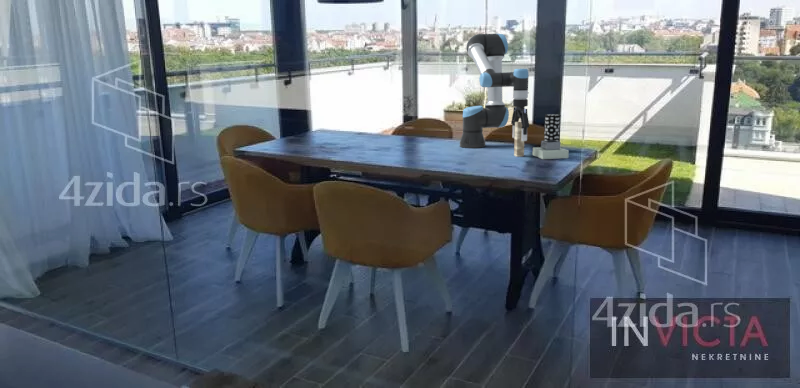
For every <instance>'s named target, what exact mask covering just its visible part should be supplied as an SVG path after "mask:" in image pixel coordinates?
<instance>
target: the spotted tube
mask: <svg viewBox="0 0 800 388" xmlns="http://www.w3.org/2000/svg"><path fill="white" fill-rule="evenodd" d="M561 117H562V115H561V114H557V113H555V114H554V113H548V114H545V115H544V133H543V134H544V138H543V141H547V140H555V141H558V142H560V143H561V141H560V139H561V137H560V136H561Z"/></svg>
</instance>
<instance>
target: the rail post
mask: <svg viewBox="0 0 800 388" xmlns="http://www.w3.org/2000/svg"><path fill="white" fill-rule="evenodd" d="M513 143H514V146H513V156H514V157H516V158H517V157H518V158H519V157H524V156H525V141H522V123H521V121H518V122H515V138H514V142H513Z"/></svg>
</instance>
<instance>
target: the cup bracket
mask: <svg viewBox="0 0 800 388" xmlns="http://www.w3.org/2000/svg"><path fill="white" fill-rule="evenodd" d="M540 147H541V148H542V149H544V150H560V148H561V141H560V142H558V141H555V140H547V141H544V140H541V141H540Z"/></svg>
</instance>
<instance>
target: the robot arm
mask: <svg viewBox="0 0 800 388" xmlns="http://www.w3.org/2000/svg"><path fill="white" fill-rule="evenodd" d="M465 49H466V53H467V55H468V57H469V58H471V59H472V61H473V63H474V65H475V67H476V68H477V70H478V72H479V74H480V75H479V84H480V86H481V88H487V89H486V90H487V101H486V103H485V104H484V106H485V107H483V105H473V106H468V107H465V108H464V109H462V135H461V137H460V140H459V147H460V148H465V149H467V148H468V149H479V148H485V147H486V139H485V137H484V132H483V129H492V128H493V129H494V128H497V129H499V128H504V127H505V126H506V125H507V124H508V121H509V118H510V117H509V116H510V111H509V108H508V107H506V104H505V102H504V101H503V88H508V87H510V88H511V87H512V89H513V91H512V98H513V100H512V101H513V102H512V106H513V111H512V115H511V116H512V117H511V121H510V123H511V125H512V139H515V122H521V123H522V141H524V142H527V141H528V129H529V128H530V122H529V116H528V108H525V107H528V105H529V102H528V101H529V100H528V98H529V93H530V92H529V77H530V76H529V69H528V68H515V69H513V71H511V72H506V71H505V72H503V62H502V61H503V59H505V55H507V53H508V49H509V43H508V39H507V37H506V35H505V34H503V33H476V34H475V35H472V36H471V37H470V38H469V39H468V41H467V43H466V48H465Z"/></svg>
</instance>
